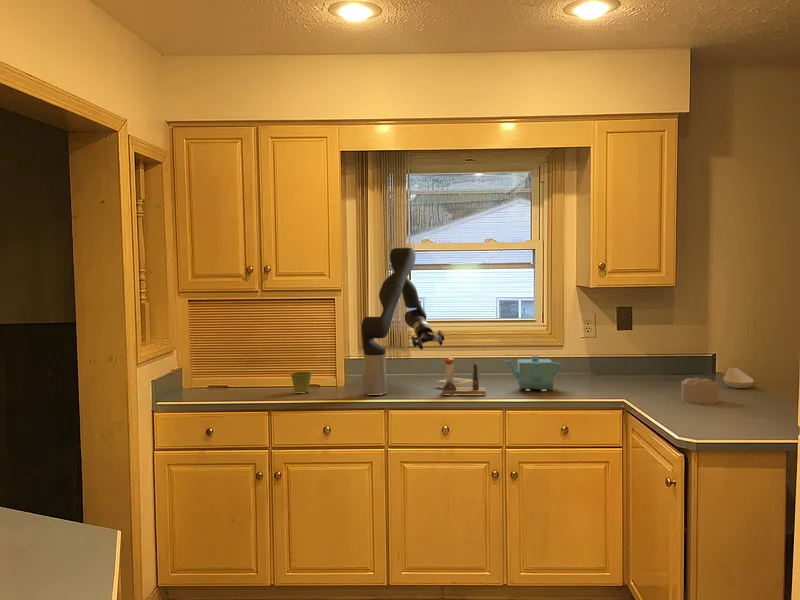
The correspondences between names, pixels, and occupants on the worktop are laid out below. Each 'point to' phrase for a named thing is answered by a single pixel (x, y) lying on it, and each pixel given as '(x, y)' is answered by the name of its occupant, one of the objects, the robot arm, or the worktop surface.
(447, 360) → the capped test tube
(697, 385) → the beige bumpy block
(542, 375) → the teakettle
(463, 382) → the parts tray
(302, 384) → the plant pot
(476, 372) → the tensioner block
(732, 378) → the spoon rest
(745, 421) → the worktop surface
